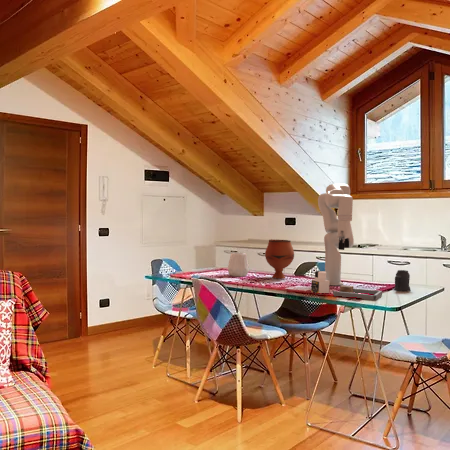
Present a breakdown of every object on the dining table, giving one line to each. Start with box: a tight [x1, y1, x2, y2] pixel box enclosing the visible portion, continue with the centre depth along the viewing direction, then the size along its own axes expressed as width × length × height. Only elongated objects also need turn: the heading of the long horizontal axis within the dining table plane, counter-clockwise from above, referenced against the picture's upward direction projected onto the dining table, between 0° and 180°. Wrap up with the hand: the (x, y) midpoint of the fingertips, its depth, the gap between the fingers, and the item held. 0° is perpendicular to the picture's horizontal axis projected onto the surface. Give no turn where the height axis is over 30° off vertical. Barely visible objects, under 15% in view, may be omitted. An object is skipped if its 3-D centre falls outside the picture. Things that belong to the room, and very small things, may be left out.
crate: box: [339, 284, 354, 293], centre depth 268 cm, size 6×5×4 cm
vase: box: [227, 252, 250, 278], centre depth 336 cm, size 14×14×15 cm
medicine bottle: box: [310, 270, 330, 294], centre depth 273 cm, size 7×7×12 cm
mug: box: [393, 269, 411, 293], centre depth 285 cm, size 12×9×11 cm
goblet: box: [264, 238, 295, 280], centre depth 328 cm, size 19×19×25 cm
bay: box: [332, 287, 383, 301], centre depth 265 cm, size 22×16×2 cm
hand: (343, 248), depth 277 cm, fingers open, 9 cm apart
